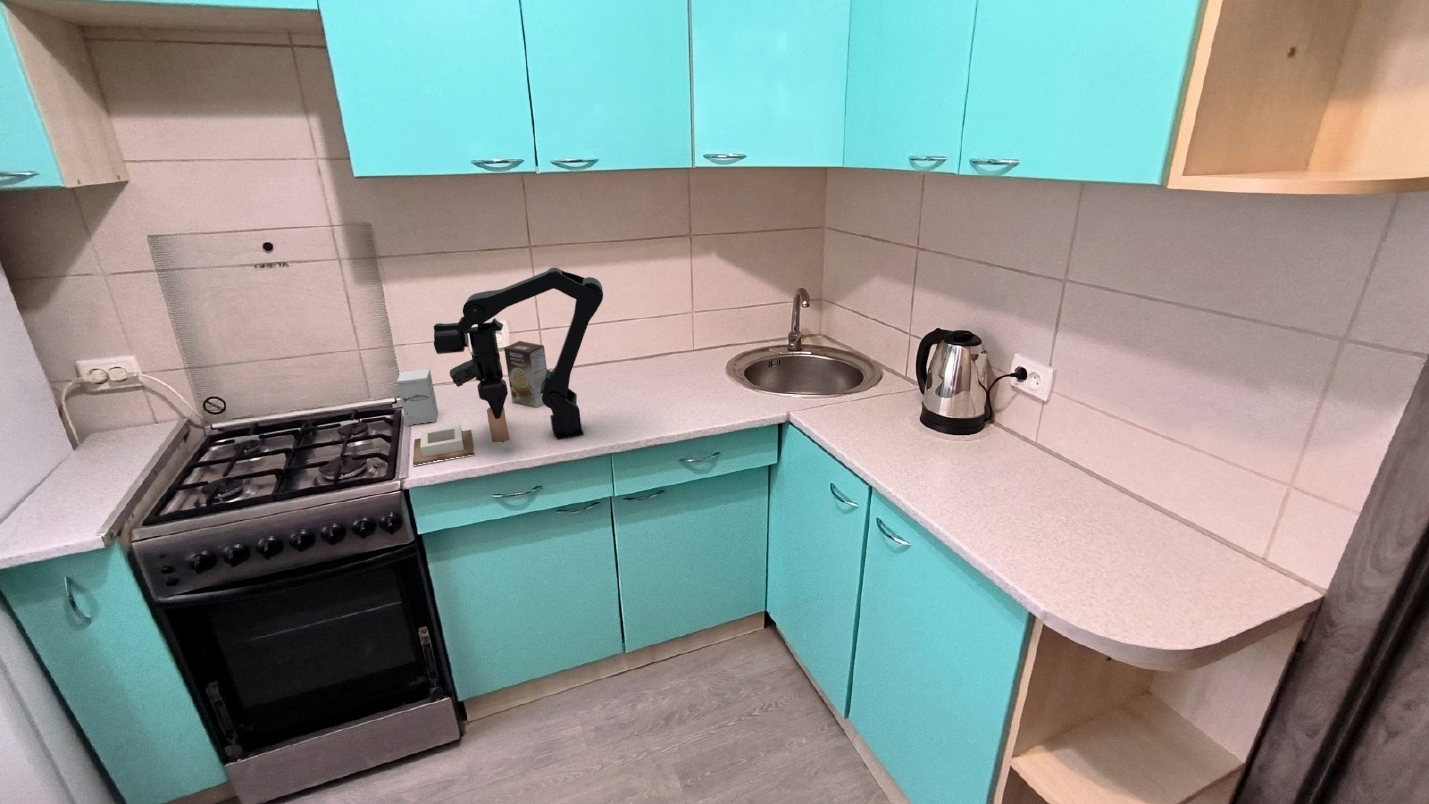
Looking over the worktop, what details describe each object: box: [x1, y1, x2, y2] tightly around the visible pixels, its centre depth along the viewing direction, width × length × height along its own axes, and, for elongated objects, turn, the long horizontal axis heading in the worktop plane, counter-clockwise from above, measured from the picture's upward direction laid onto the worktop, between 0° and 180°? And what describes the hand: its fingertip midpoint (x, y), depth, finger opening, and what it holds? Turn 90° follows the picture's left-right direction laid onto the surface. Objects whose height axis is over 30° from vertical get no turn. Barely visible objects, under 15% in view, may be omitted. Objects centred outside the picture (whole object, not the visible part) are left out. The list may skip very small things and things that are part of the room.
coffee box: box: [503, 340, 548, 408], centre depth 182 cm, size 9×6×16 cm
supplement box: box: [396, 368, 439, 427], centre depth 174 cm, size 7×7×13 cm
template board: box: [412, 424, 475, 466], centre depth 159 cm, size 13×13×4 cm
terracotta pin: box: [486, 406, 510, 443], centre depth 162 cm, size 4×4×8 cm
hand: (496, 411), depth 161 cm, fingers open, 9 cm apart
